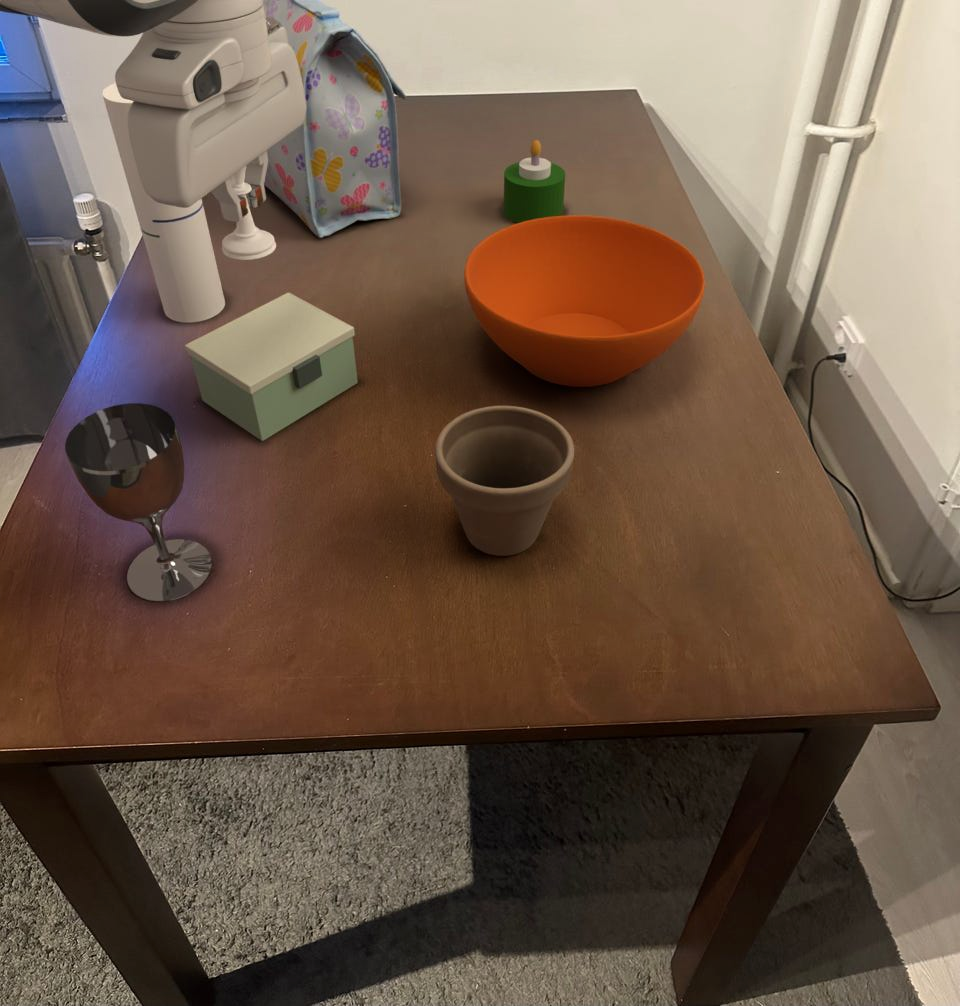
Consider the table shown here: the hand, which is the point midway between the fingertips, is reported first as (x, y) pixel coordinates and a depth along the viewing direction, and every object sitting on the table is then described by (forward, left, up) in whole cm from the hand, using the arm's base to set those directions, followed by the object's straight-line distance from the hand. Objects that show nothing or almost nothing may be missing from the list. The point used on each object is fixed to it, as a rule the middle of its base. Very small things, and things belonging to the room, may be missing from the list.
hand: (245, 210), depth 81 cm
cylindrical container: (+4, +21, -21) cm, 30 cm away
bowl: (+27, -19, -21) cm, 39 cm away
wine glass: (-22, -13, -21) cm, 33 cm away
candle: (+50, +6, -21) cm, 54 cm away
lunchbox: (0, 0, -20) cm, 20 cm away
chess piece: (0, 0, -4) cm, 4 cm away
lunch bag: (+34, +30, -21) cm, 50 cm away
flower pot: (0, -31, -21) cm, 37 cm away
